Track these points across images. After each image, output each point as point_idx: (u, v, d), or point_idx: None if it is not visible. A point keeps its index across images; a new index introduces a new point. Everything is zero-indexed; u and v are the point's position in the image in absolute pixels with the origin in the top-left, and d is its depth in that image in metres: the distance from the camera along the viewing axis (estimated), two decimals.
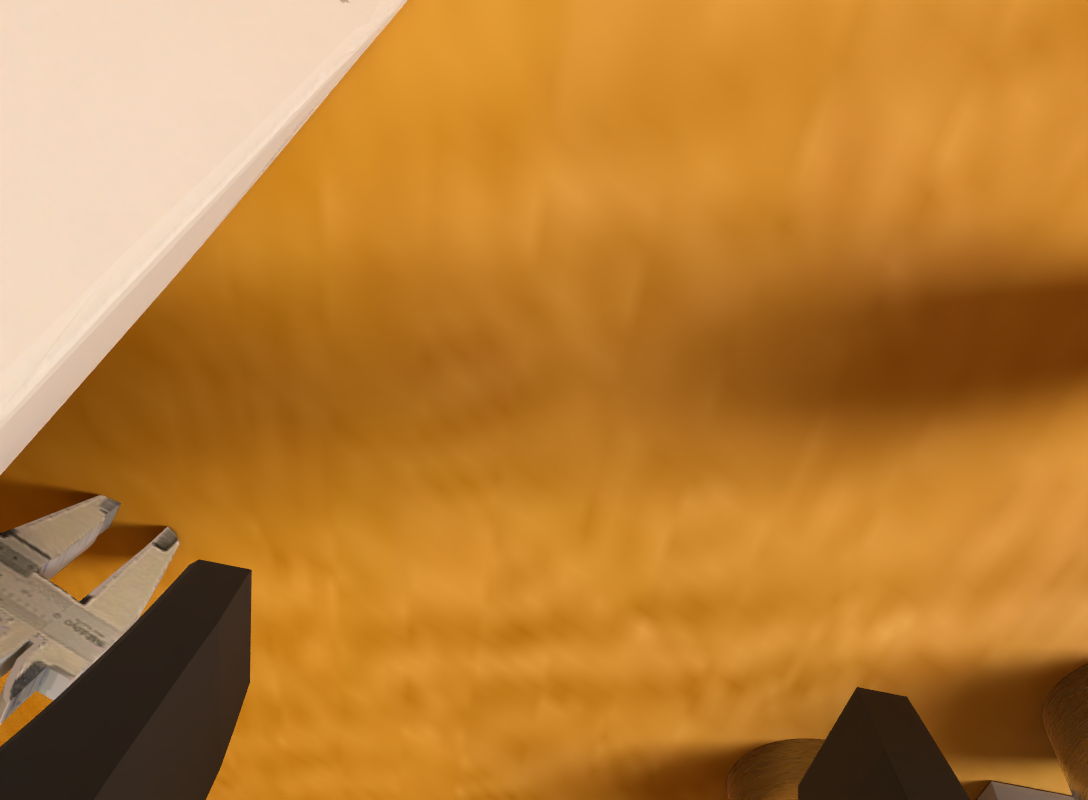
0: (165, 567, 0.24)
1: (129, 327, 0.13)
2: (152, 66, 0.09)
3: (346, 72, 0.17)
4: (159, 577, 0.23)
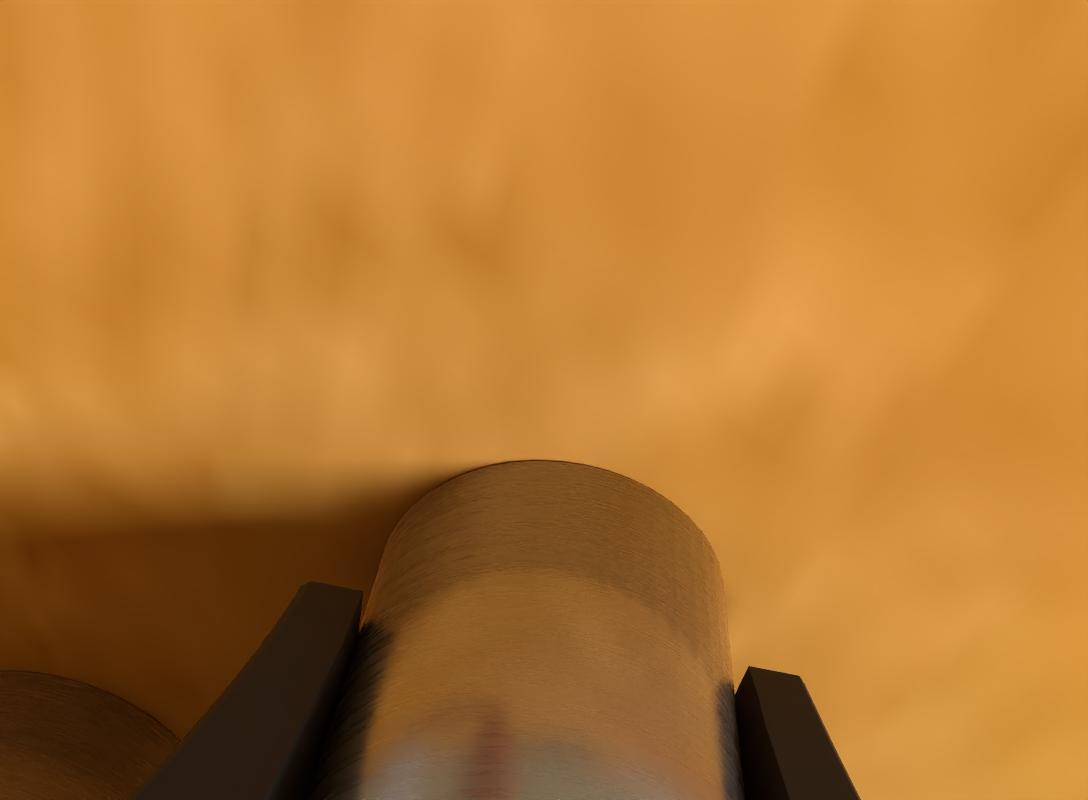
0: None
1: None
2: None
3: None
4: None
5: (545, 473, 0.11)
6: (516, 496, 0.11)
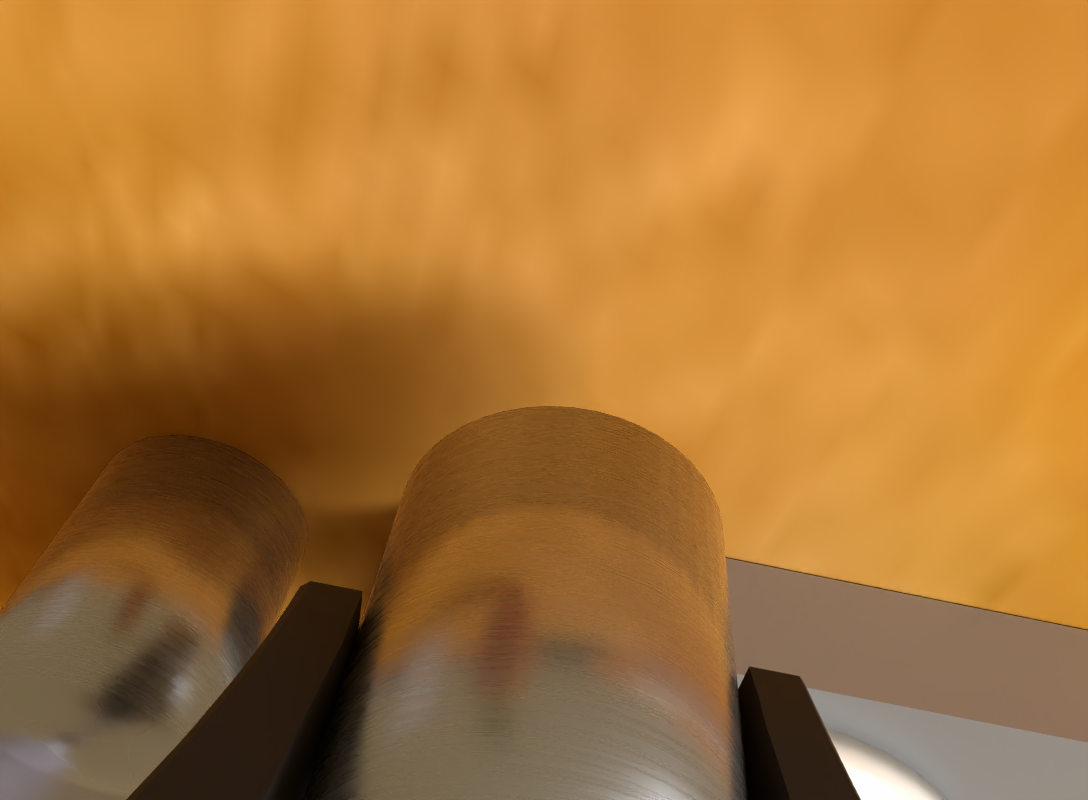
0: None
1: None
2: None
3: None
4: None
5: (557, 417, 0.12)
6: (530, 436, 0.12)
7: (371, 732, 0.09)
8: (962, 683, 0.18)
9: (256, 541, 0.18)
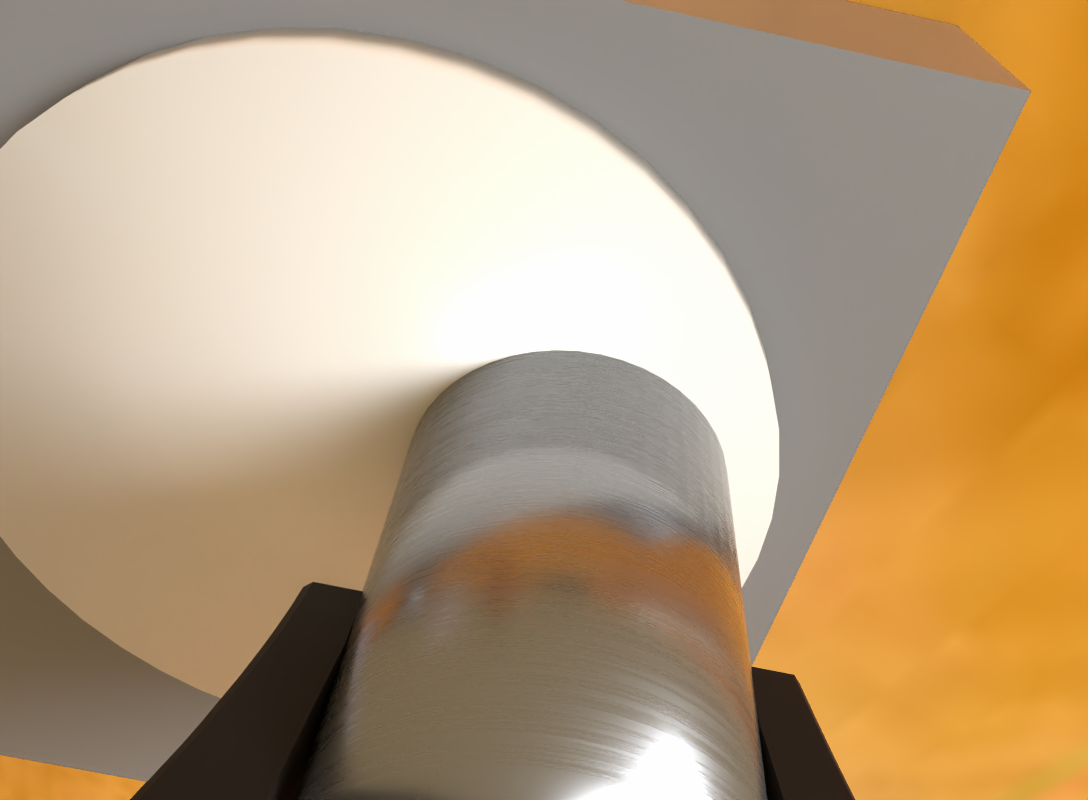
0: None
1: None
2: None
3: None
4: None
5: (539, 360, 0.12)
6: (513, 381, 0.12)
7: (364, 664, 0.09)
8: (720, 6, 0.11)
9: None
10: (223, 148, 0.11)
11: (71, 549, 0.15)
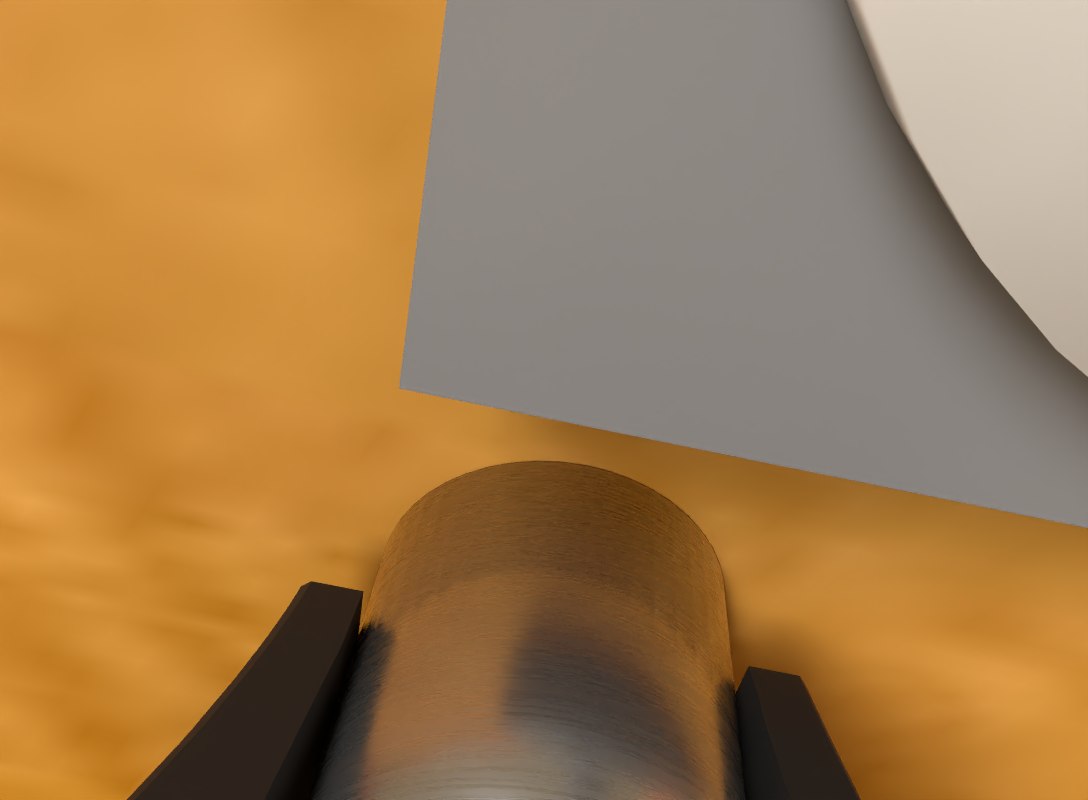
0: None
1: None
2: None
3: None
4: None
5: None
6: None
7: None
8: None
9: (430, 581, 0.10)
10: None
11: None
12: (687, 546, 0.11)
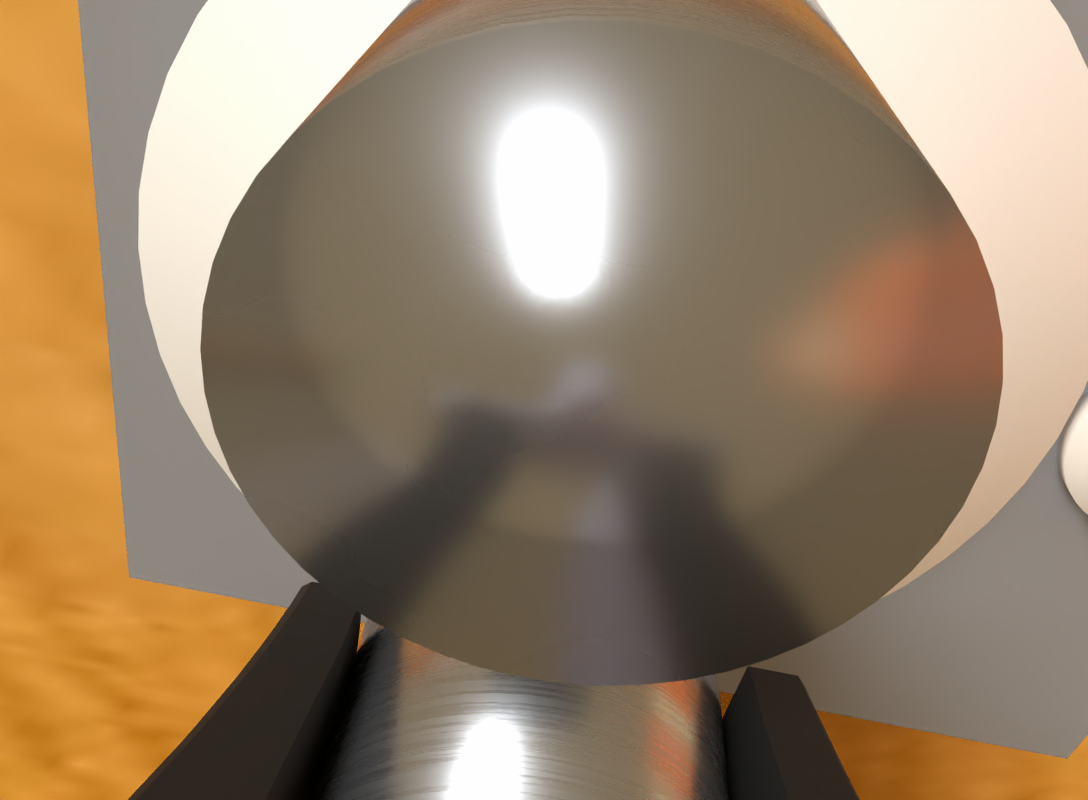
0: None
1: None
2: None
3: None
4: None
5: None
6: None
7: None
8: None
9: None
10: None
11: None
12: None
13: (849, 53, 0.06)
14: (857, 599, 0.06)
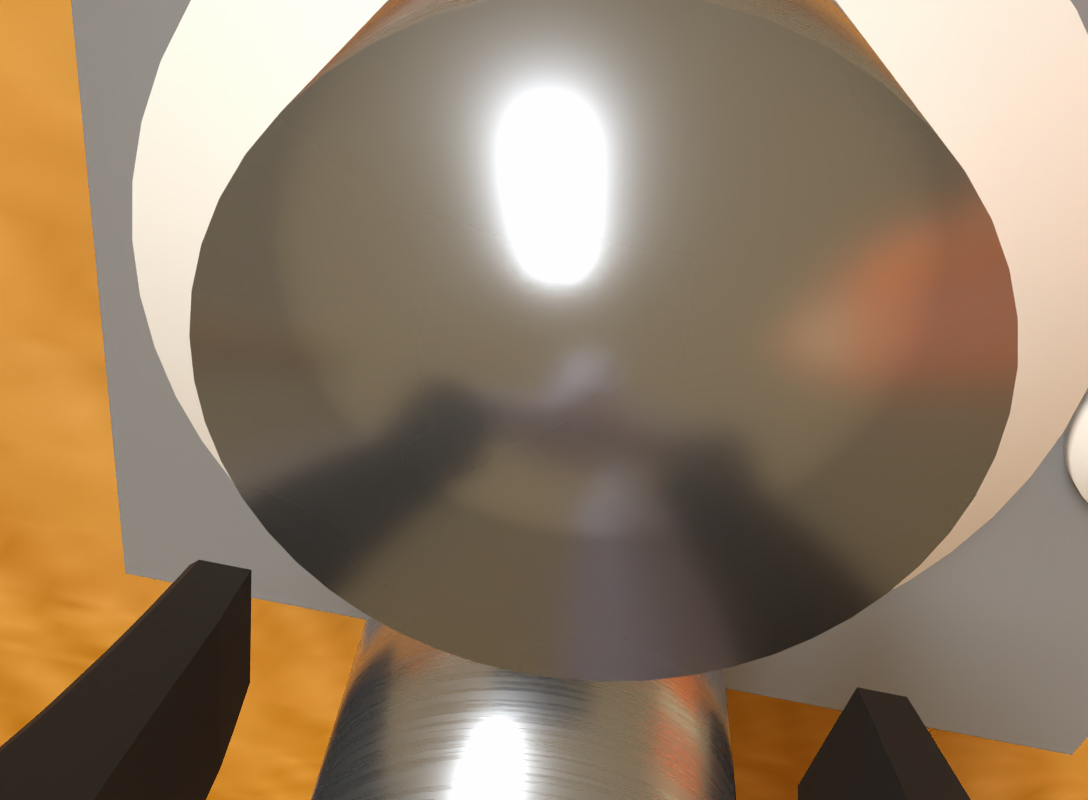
0: None
1: None
2: None
3: None
4: None
5: None
6: None
7: None
8: None
9: None
10: None
11: None
12: None
13: (858, 30, 0.06)
14: (865, 592, 0.06)
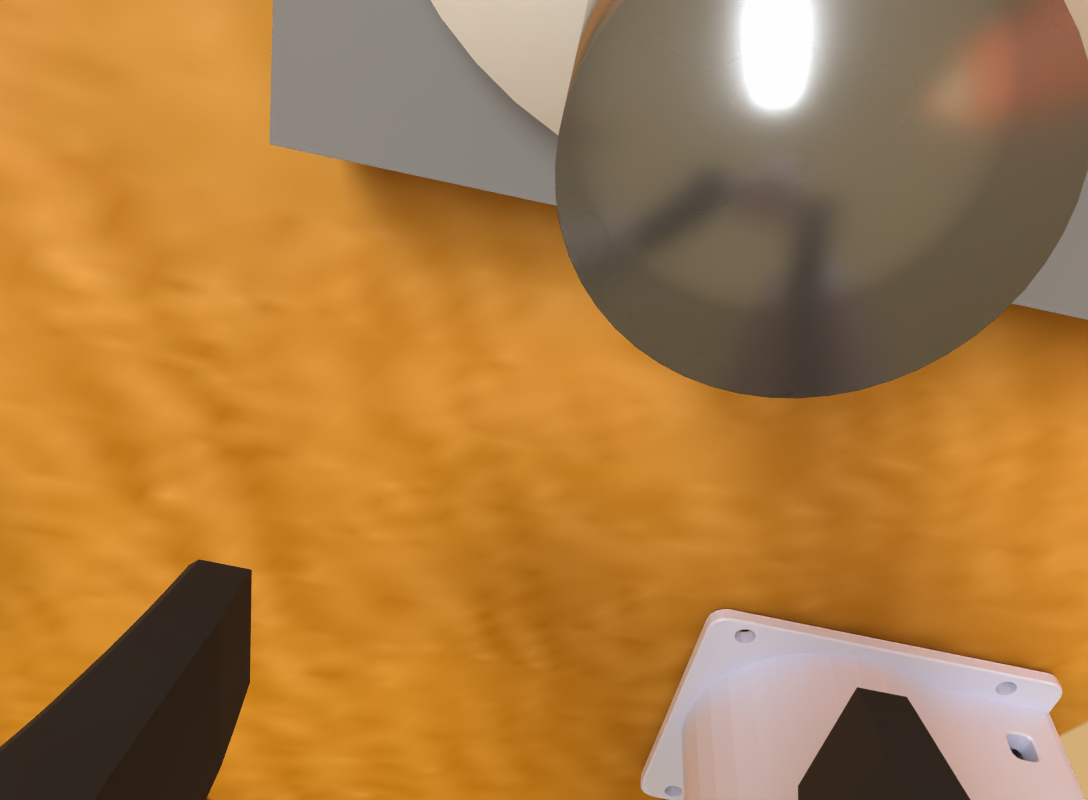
0: None
1: None
2: None
3: None
4: None
5: None
6: None
7: None
8: None
9: None
10: None
11: None
12: None
13: None
14: None
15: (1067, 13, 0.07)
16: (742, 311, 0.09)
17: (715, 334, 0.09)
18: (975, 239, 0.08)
